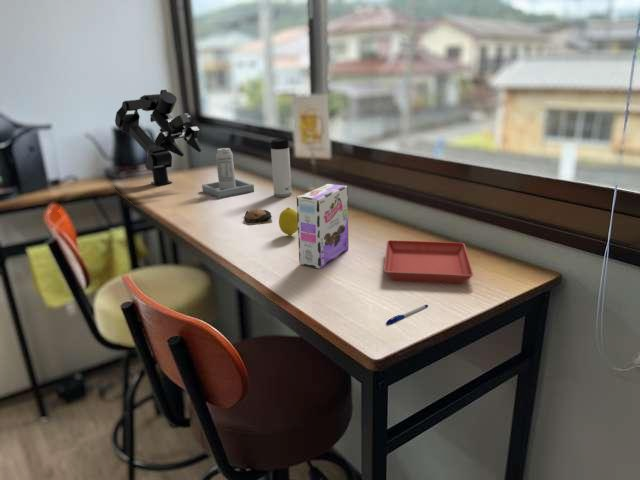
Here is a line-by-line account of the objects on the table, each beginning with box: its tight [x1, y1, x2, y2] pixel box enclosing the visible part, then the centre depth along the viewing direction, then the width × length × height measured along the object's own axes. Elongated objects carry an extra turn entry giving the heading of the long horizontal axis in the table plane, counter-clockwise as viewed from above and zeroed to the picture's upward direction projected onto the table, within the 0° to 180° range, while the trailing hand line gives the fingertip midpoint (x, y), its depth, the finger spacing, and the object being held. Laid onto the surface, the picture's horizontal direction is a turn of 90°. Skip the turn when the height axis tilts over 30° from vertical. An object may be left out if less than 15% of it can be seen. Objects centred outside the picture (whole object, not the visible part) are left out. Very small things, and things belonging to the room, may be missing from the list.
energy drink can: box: [215, 147, 236, 190], centre depth 174 cm, size 6×6×15 cm
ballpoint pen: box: [385, 304, 429, 326], centre depth 87 cm, size 10×1×1 cm, turn 128°
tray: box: [201, 178, 255, 200], centre depth 176 cm, size 14×14×2 cm
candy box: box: [296, 183, 350, 269], centre depth 111 cm, size 14×6×16 cm, turn 148°
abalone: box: [243, 208, 273, 226], centre depth 144 cm, size 11×8×4 cm
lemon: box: [278, 206, 298, 237], centre depth 128 cm, size 6×6×8 cm
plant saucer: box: [383, 239, 474, 284], centre depth 106 cm, size 18×18×3 cm
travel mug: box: [270, 137, 293, 198], centre depth 166 cm, size 6×7×20 cm
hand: (191, 153), depth 177 cm, fingers open, 9 cm apart
